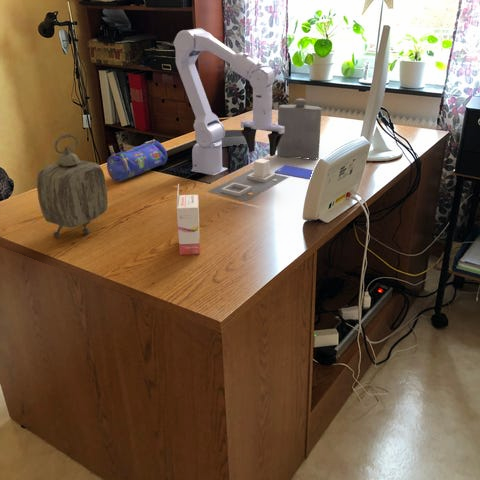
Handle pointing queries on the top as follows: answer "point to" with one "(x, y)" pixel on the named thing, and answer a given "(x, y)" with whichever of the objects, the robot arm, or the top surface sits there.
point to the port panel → (247, 185)
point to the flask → (299, 130)
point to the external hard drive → (233, 138)
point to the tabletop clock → (71, 190)
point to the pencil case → (136, 160)
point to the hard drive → (295, 171)
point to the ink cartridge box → (188, 223)
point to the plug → (262, 168)
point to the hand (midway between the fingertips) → (262, 153)
